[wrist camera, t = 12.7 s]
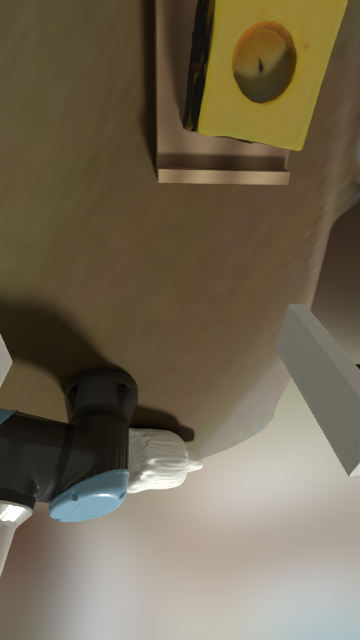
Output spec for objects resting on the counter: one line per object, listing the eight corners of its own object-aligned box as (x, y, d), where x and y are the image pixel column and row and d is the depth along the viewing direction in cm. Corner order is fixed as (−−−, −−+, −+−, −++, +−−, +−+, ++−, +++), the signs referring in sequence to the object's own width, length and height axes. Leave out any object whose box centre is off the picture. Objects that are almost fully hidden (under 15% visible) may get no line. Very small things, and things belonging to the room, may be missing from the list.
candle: (264, 143, 34) (303, 155, 26) (180, 131, 32) (194, 139, 24) (295, 22, 28) (359, -11, 20) (194, -2, 26) (220, -49, 18)
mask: (181, 447, 85) (102, 437, 74) (210, 428, 78) (126, 413, 66) (188, 501, 76) (97, 499, 64) (222, 485, 68) (126, 480, 56)
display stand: (156, 176, 38) (158, 185, 34) (153, -65, 26) (157, -100, 22) (270, 178, 40) (287, 187, 36) (316, -45, 28) (350, -74, 24)
